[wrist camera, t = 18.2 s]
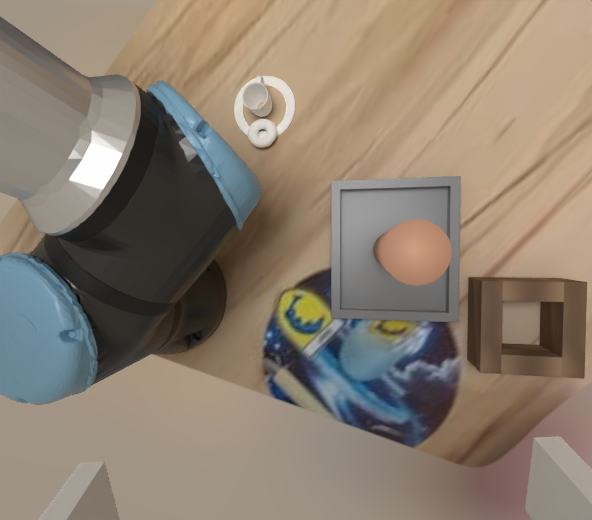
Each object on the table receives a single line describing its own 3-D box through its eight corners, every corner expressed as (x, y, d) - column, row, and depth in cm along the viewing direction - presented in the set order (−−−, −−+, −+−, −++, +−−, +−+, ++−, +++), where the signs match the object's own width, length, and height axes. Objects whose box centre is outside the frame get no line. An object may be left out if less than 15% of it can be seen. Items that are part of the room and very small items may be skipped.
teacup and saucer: (274, 157, 45) (265, 148, 41) (222, 130, 46) (209, 119, 42) (307, 93, 44) (301, 78, 40) (253, 67, 45) (242, 49, 41)
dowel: (373, 269, 41) (382, 284, 24) (373, 231, 41) (382, 219, 24) (411, 269, 41) (451, 286, 23) (412, 231, 41) (452, 218, 23)
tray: (333, 313, 44) (331, 317, 41) (333, 184, 43) (331, 180, 41) (452, 317, 41) (458, 322, 39) (454, 180, 41) (460, 176, 38)
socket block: (467, 358, 41) (480, 372, 37) (468, 277, 41) (481, 280, 36) (559, 363, 39) (584, 378, 35) (561, 278, 39) (587, 282, 35)
